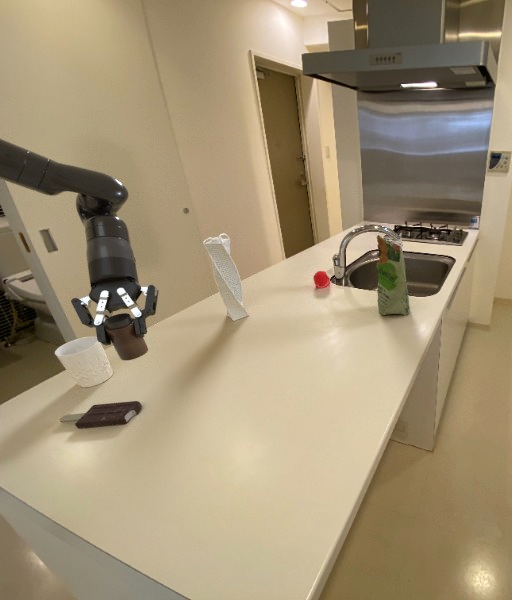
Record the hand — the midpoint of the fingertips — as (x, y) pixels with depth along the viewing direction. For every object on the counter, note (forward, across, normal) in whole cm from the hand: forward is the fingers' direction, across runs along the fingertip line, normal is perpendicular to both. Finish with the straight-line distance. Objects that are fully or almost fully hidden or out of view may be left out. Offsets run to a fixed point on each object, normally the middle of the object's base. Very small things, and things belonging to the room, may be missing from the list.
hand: (124, 340), depth 64 cm
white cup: (0, -15, +26) cm, 30 cm away
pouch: (+4, +65, +22) cm, 69 cm away
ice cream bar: (+11, -10, +14) cm, 21 cm away
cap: (-18, +50, +44) cm, 69 cm away
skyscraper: (-12, +19, +38) cm, 44 cm away
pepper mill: (+2, 0, +4) cm, 5 cm away
